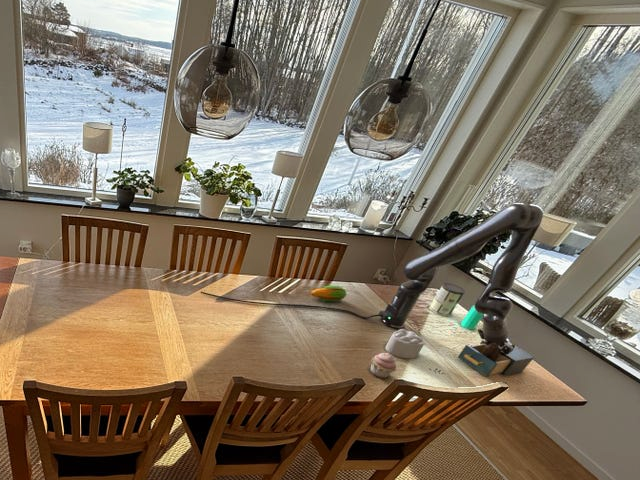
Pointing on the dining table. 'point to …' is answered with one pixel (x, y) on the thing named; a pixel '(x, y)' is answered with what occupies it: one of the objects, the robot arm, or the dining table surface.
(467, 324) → the candle
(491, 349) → the pepper mill
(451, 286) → the coffee can
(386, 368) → the cupcake
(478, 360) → the drawer
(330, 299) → the corn
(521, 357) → the cabinet
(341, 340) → the dining table surface
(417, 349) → the lumpy-topped squat cylinder
